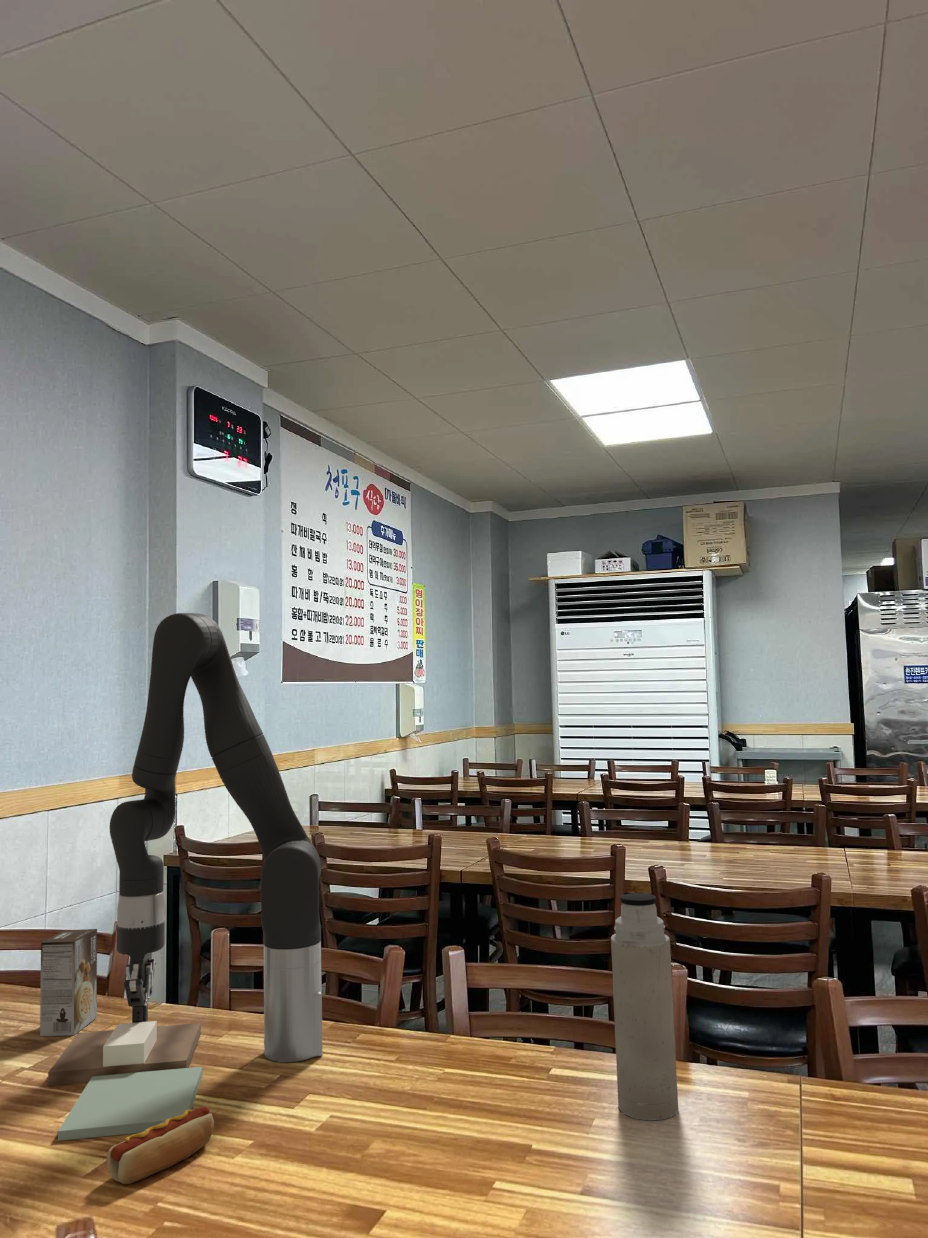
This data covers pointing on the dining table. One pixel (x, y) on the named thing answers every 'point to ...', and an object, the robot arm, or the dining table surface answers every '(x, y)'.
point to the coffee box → (68, 982)
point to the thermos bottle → (643, 1011)
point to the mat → (130, 1102)
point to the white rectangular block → (130, 1043)
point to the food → (160, 1146)
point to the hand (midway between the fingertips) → (139, 1028)
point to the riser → (88, 1061)
